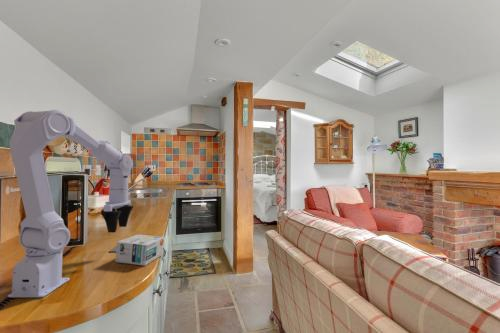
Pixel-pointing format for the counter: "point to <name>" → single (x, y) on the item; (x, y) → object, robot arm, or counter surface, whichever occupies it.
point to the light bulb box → (139, 249)
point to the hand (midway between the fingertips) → (117, 229)
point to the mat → (113, 249)
